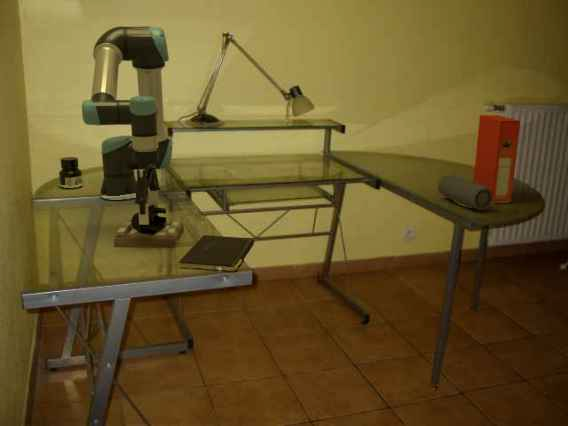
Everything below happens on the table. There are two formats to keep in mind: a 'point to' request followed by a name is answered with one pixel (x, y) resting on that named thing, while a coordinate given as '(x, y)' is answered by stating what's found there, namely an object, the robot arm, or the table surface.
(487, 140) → the file binder
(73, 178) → the ink bottle
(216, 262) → the hardcover book
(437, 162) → the table surface
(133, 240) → the display riser
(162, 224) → the black notched block
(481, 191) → the bluetooth speaker
